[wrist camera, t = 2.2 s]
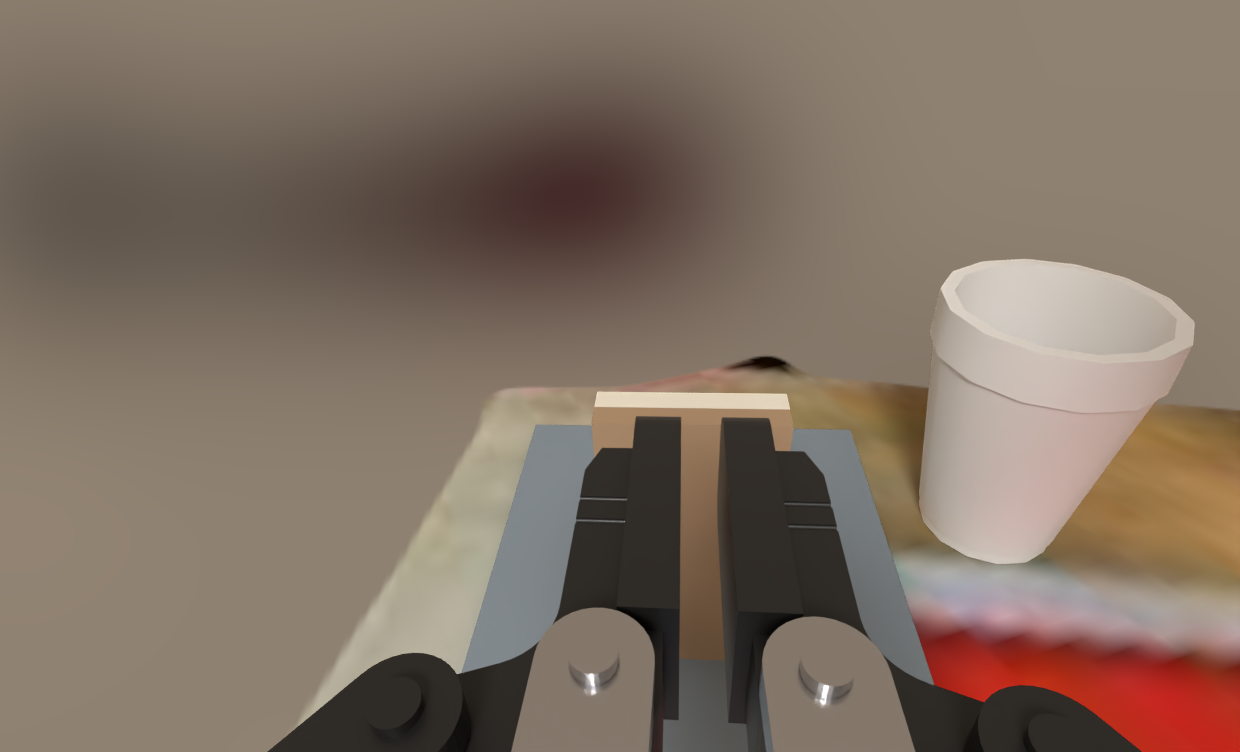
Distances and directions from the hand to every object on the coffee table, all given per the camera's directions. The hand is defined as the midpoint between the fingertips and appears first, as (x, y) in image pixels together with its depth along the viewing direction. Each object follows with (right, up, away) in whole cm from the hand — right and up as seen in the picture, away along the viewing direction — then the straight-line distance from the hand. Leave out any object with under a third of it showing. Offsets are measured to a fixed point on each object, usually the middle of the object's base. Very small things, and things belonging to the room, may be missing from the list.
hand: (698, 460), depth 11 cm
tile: (+2, -10, +19) cm, 22 cm away
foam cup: (+18, -6, +25) cm, 32 cm away
